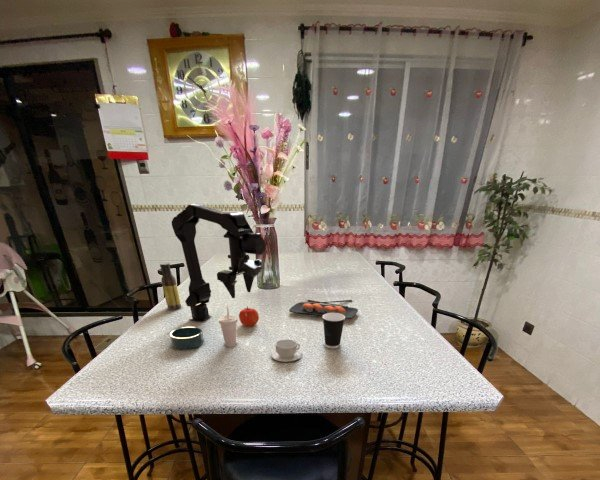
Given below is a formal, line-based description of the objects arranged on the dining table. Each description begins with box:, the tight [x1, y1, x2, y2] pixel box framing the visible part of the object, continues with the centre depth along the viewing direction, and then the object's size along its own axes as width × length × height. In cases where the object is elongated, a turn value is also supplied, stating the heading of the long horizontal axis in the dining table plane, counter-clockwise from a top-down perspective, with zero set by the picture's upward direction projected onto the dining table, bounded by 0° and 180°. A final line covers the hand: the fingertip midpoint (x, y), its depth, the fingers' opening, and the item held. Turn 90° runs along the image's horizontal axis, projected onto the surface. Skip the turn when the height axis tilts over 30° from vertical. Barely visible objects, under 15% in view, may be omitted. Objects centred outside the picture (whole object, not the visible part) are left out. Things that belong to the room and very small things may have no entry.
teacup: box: [271, 338, 302, 363], centre depth 121 cm, size 10×10×5 cm
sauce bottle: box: [159, 262, 182, 311], centre depth 162 cm, size 6×6×20 cm
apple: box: [238, 306, 260, 328], centre depth 145 cm, size 8×8×8 cm
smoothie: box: [218, 305, 238, 348], centre depth 127 cm, size 6×6×14 cm
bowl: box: [169, 326, 205, 351], centre depth 130 cm, size 11×11×4 cm
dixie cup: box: [321, 313, 346, 350], centre depth 126 cm, size 8×8×11 cm
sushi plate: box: [289, 299, 359, 320], centre depth 164 cm, size 29×30×4 cm
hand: (241, 295), depth 138 cm, fingers open, 9 cm apart
